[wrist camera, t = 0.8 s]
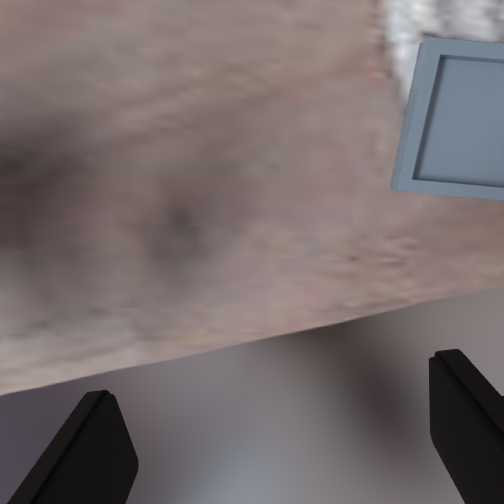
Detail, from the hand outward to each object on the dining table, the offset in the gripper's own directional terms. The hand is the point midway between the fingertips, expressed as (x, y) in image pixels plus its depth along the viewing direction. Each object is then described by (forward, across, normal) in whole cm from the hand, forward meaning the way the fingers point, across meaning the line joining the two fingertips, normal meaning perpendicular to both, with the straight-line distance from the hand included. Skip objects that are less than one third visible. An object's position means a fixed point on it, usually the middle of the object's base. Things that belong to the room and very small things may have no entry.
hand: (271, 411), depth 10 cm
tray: (+28, -25, -4) cm, 38 cm away
